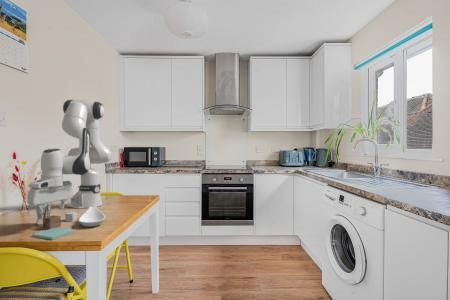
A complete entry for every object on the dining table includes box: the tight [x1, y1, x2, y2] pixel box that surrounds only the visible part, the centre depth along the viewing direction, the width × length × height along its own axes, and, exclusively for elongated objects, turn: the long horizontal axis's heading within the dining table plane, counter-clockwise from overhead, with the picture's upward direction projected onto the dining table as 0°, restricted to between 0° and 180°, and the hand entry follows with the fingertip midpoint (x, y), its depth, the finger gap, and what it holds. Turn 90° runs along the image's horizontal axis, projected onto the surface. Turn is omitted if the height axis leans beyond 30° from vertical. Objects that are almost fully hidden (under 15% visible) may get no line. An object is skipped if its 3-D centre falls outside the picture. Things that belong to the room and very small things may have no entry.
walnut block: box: [42, 215, 62, 230], centre depth 121 cm, size 5×5×5 cm
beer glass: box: [34, 202, 53, 226], centre depth 127 cm, size 7×7×15 cm
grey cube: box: [64, 211, 79, 223], centre depth 133 cm, size 4×4×4 cm
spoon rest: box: [78, 206, 106, 228], centre depth 130 cm, size 24×12×7 cm, turn 28°
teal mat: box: [32, 227, 75, 241], centre depth 111 cm, size 12×10×1 cm
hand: (51, 211), depth 121 cm, fingers open, 8 cm apart
